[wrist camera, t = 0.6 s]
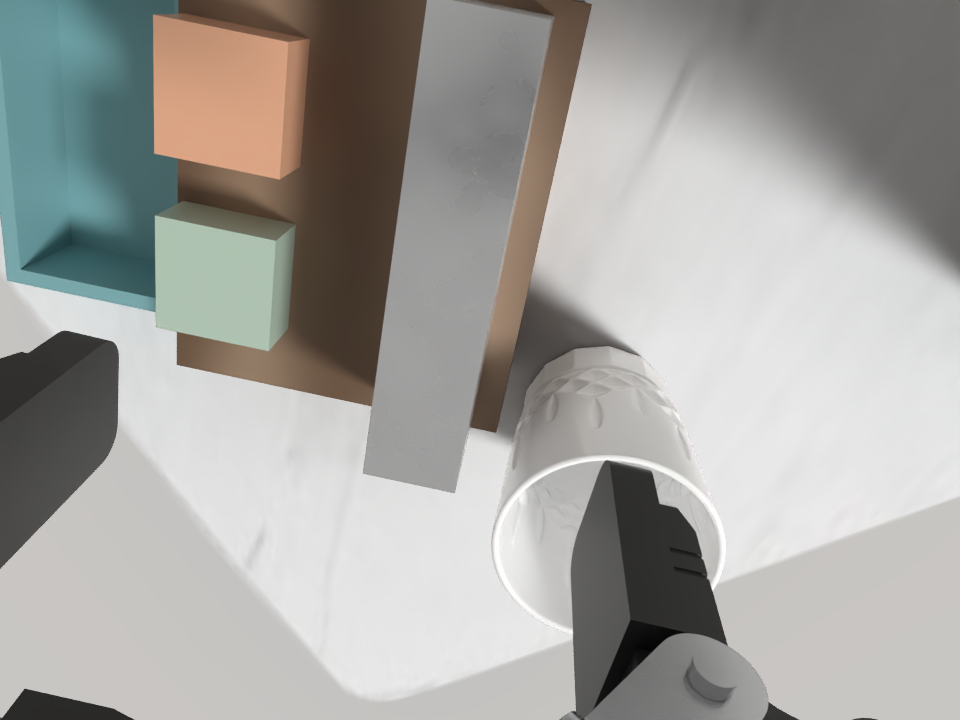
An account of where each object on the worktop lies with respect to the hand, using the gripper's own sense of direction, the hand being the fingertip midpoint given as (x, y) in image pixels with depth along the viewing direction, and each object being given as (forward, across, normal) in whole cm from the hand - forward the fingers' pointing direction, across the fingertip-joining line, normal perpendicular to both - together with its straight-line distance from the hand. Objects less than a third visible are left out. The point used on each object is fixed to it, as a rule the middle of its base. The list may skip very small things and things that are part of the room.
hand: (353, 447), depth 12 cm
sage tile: (+15, +7, +4) cm, 17 cm away
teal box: (+21, +14, +1) cm, 25 cm away
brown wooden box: (+21, +3, 0) cm, 21 cm away
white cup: (+21, -8, +9) cm, 24 cm away
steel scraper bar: (+15, 0, 0) cm, 15 cm away
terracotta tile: (+15, +7, -2) cm, 17 cm away
